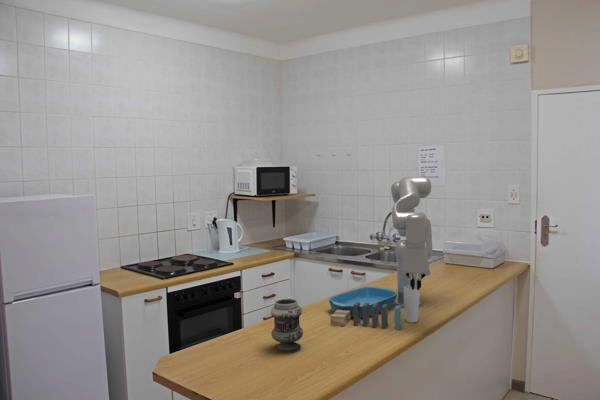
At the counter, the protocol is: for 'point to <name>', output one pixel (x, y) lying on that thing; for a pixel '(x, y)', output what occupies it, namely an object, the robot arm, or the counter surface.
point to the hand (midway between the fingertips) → (415, 288)
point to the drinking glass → (411, 303)
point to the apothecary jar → (286, 325)
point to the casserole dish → (363, 299)
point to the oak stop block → (340, 317)
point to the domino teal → (397, 317)
